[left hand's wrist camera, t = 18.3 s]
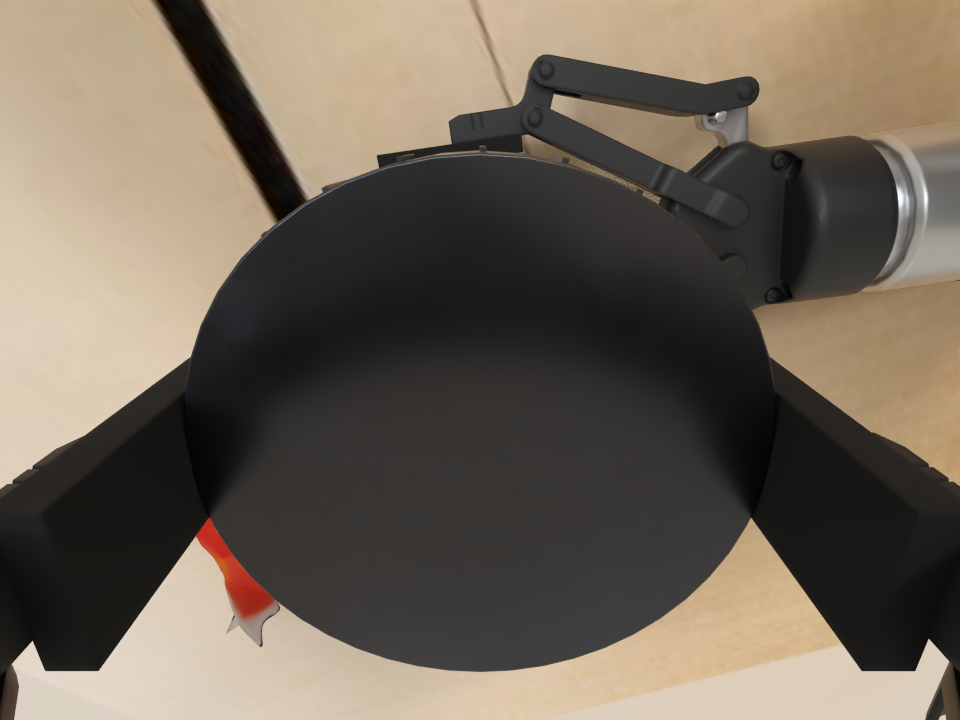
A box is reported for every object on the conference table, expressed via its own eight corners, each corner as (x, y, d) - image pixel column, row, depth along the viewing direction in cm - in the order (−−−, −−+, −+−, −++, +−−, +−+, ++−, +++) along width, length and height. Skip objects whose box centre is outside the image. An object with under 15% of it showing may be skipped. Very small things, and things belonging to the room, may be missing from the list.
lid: (218, 108, 10) (150, 99, 8) (801, 190, 10) (879, 202, 8) (239, 574, 14) (197, 649, 12) (659, 615, 15) (688, 695, 12)
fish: (333, 452, 34) (259, 624, 28) (426, 552, 45) (387, 690, 39) (203, 448, 38) (113, 597, 31) (318, 540, 49) (268, 664, 43)
